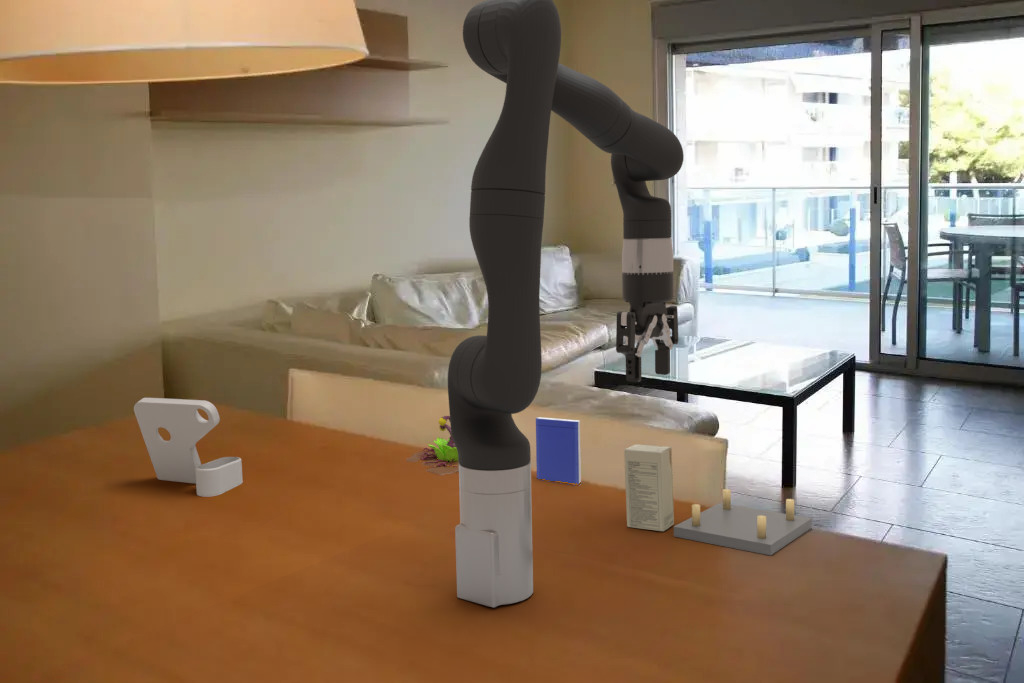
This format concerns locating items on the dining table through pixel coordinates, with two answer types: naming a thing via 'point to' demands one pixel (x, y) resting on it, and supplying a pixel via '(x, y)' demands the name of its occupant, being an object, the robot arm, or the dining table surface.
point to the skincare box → (649, 487)
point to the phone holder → (185, 444)
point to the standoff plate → (743, 526)
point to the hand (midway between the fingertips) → (648, 377)
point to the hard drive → (558, 450)
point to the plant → (439, 453)
